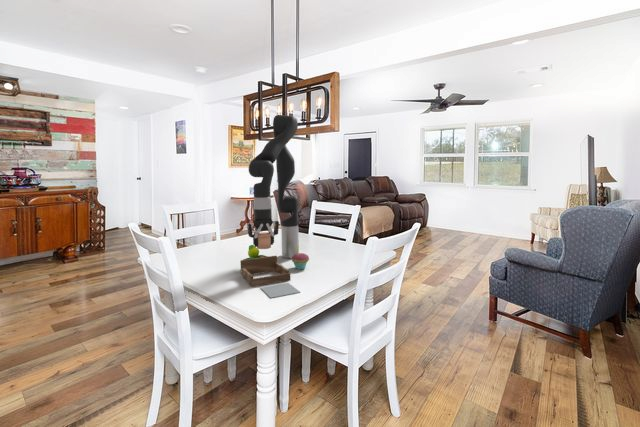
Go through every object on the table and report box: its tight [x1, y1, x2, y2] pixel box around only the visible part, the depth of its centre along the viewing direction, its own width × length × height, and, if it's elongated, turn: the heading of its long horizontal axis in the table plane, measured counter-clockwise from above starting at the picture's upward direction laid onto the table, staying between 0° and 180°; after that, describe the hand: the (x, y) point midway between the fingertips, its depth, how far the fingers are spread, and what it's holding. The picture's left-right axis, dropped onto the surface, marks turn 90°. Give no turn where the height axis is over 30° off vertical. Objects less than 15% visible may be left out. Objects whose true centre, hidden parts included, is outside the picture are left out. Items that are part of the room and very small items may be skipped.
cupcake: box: [290, 243, 310, 270], centre depth 162 cm, size 9×8×12 cm
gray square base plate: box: [260, 282, 301, 299], centre depth 132 cm, size 12×12×1 cm
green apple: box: [242, 244, 269, 260], centre depth 162 cm, size 11×9×11 cm
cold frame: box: [240, 255, 291, 288], centre depth 148 cm, size 17×17×7 cm
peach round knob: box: [256, 231, 272, 250], centre depth 146 cm, size 7×7×6 cm
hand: (263, 245), depth 146 cm, fingers closed on peach round knob, 6 cm apart
